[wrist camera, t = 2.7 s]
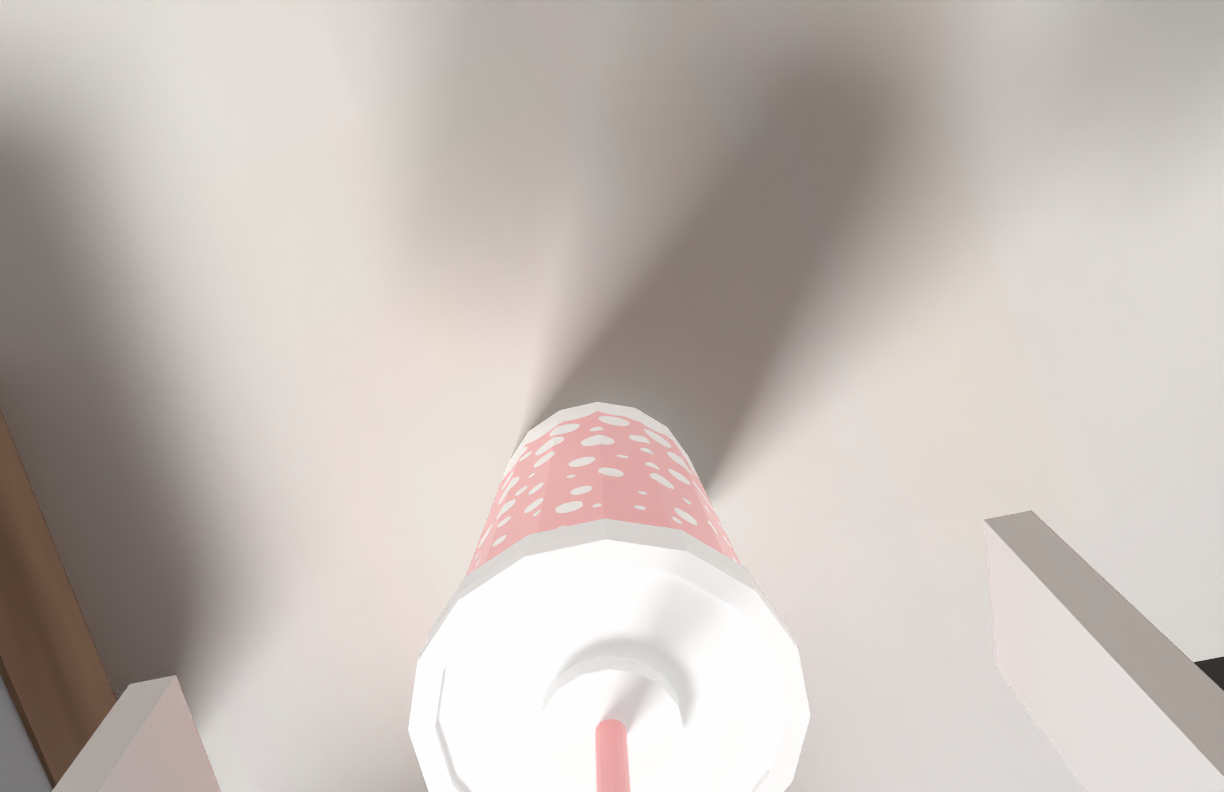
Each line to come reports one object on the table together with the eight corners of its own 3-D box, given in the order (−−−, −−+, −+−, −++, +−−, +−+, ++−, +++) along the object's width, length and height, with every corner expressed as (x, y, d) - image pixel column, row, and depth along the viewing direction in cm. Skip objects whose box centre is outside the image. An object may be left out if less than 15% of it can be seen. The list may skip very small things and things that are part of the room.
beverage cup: (669, 639, 25) (773, 1278, 11) (436, 562, 24) (255, 1153, 11) (768, 422, 23) (1023, 875, 10) (521, 332, 22) (434, 691, 9)
